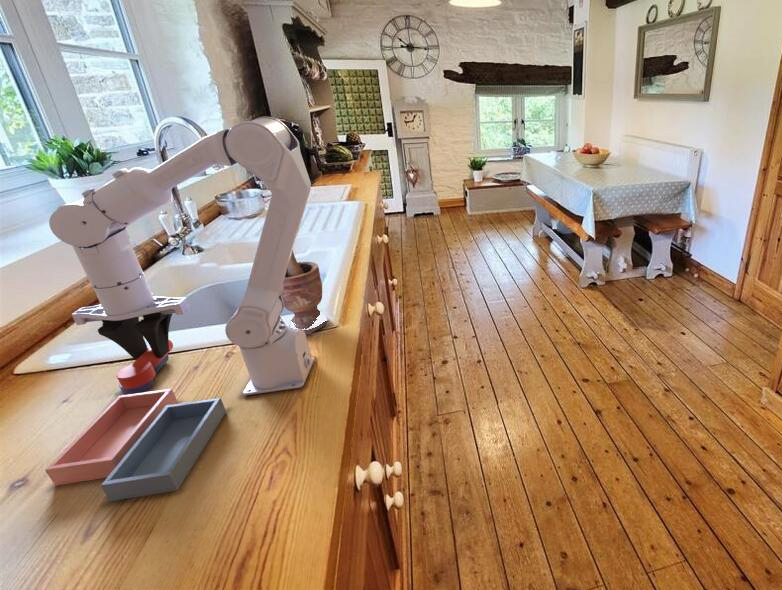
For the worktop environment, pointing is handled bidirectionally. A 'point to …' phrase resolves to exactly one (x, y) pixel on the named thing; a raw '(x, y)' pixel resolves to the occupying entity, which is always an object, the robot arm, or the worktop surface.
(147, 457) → the blue bin
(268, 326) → the robot arm
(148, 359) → the red rubber stamp
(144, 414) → the red bin
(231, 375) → the worktop surface
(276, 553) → the worktop surface
